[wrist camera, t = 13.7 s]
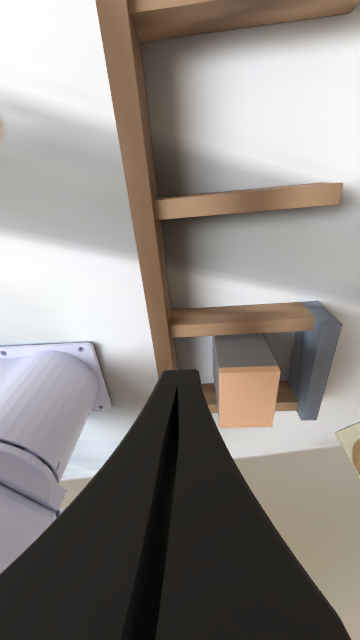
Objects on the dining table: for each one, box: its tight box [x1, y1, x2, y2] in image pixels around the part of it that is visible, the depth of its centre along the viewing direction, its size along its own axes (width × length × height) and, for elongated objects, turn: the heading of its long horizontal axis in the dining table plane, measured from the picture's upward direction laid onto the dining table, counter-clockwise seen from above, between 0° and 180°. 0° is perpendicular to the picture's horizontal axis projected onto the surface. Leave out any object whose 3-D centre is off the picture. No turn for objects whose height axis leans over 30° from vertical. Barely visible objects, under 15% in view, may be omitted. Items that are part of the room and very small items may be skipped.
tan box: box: [213, 333, 281, 428], centre depth 19 cm, size 4×5×6 cm
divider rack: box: [96, 0, 360, 420], centre depth 16 cm, size 12×25×4 cm, turn 5°
